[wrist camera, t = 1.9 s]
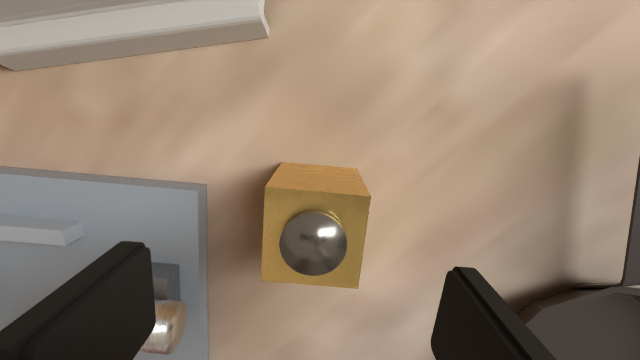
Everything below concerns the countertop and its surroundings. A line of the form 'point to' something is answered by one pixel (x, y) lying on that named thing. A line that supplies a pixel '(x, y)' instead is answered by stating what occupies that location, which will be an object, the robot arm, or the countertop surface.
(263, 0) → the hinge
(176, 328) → the shaft
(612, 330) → the frying pan
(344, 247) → the coupler
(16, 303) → the board
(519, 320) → the robot arm
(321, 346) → the countertop surface
